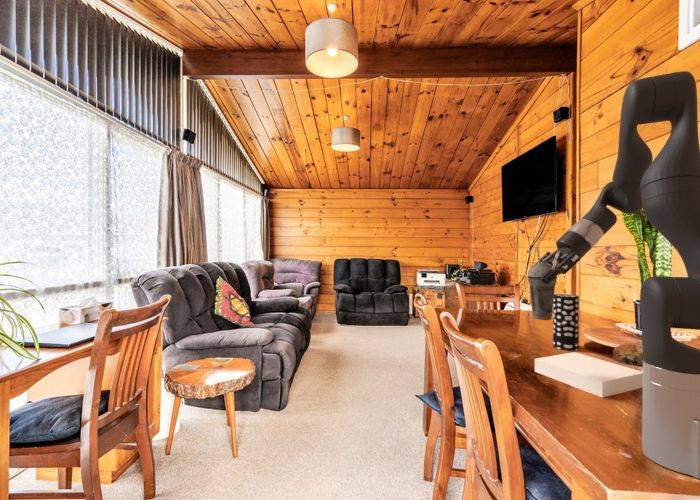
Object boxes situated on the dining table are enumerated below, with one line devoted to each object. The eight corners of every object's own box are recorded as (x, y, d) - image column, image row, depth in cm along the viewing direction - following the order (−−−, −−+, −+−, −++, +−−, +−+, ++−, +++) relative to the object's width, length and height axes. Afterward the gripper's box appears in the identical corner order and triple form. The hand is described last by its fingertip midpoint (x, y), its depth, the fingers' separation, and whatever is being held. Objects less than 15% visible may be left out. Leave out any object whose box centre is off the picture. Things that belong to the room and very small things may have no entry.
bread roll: (653, 375, 114) (660, 352, 115) (636, 366, 110) (643, 342, 111) (620, 366, 123) (627, 344, 124) (603, 357, 119) (610, 335, 120)
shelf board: (645, 386, 96) (645, 372, 95) (602, 397, 89) (602, 382, 89) (574, 364, 114) (574, 352, 114) (534, 371, 107) (534, 358, 107)
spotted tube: (548, 346, 135) (548, 294, 134) (562, 343, 138) (562, 293, 138) (569, 352, 127) (569, 297, 127) (583, 349, 131) (583, 296, 130)
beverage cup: (561, 321, 93) (561, 247, 93) (532, 320, 94) (531, 247, 94) (551, 316, 100) (551, 247, 100) (524, 315, 101) (524, 247, 101)
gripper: (555, 231, 104) (515, 270, 104) (585, 228, 89) (539, 273, 90) (574, 248, 103) (534, 287, 104) (607, 248, 89) (560, 293, 90)
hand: (536, 280), depth 97 cm, fingers closed on beverage cup, 7 cm apart
